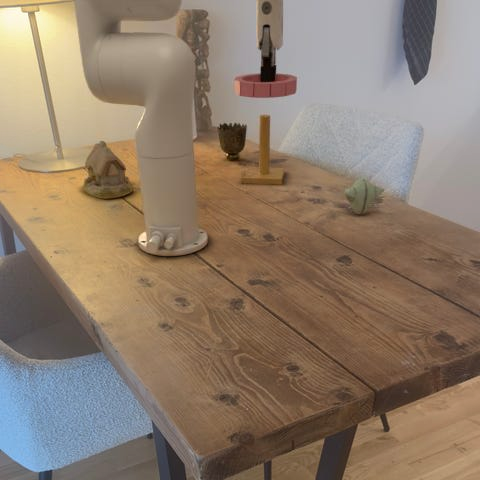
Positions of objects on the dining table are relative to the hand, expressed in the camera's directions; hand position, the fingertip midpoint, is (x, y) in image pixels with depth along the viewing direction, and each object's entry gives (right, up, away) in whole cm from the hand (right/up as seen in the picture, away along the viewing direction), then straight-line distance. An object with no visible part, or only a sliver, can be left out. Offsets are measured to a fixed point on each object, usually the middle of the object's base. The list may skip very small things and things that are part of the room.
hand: (268, 86), depth 127 cm
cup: (-8, -7, +21) cm, 23 cm away
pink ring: (-1, -4, -4) cm, 6 cm away
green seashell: (+18, -34, -13) cm, 40 cm away
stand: (-1, -18, +7) cm, 19 cm away
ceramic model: (-36, -23, +2) cm, 43 cm away
